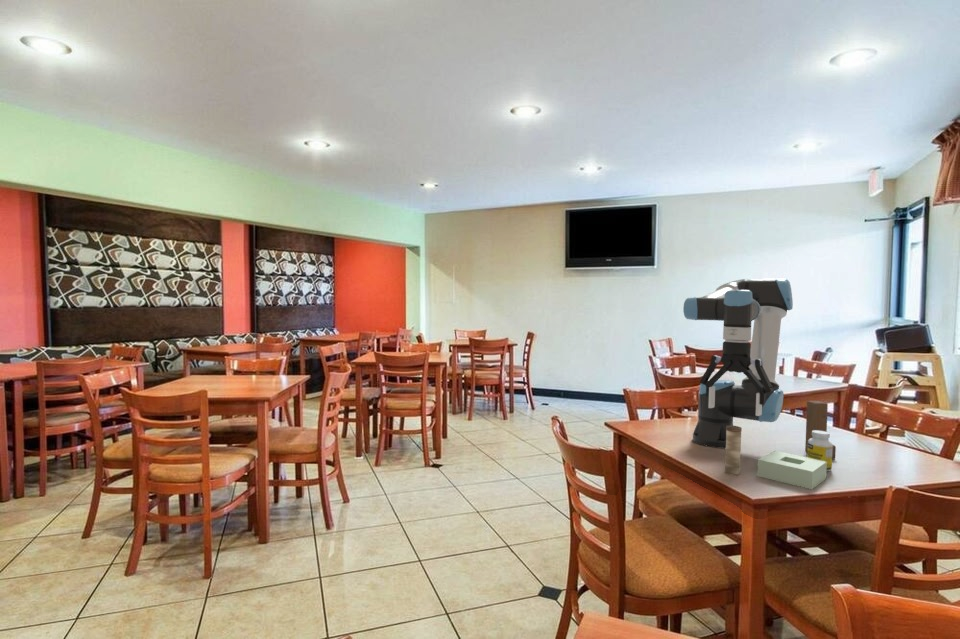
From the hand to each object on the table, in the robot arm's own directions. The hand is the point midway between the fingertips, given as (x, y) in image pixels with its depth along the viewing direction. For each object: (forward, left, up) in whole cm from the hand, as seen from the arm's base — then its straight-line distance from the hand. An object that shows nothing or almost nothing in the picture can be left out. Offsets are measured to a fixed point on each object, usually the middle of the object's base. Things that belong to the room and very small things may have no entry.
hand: (734, 411), depth 150 cm
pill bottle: (+16, +26, -19) cm, 36 cm away
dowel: (0, 0, -19) cm, 19 cm away
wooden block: (+12, +43, -19) cm, 49 cm away
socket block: (+13, +10, -19) cm, 25 cm away
